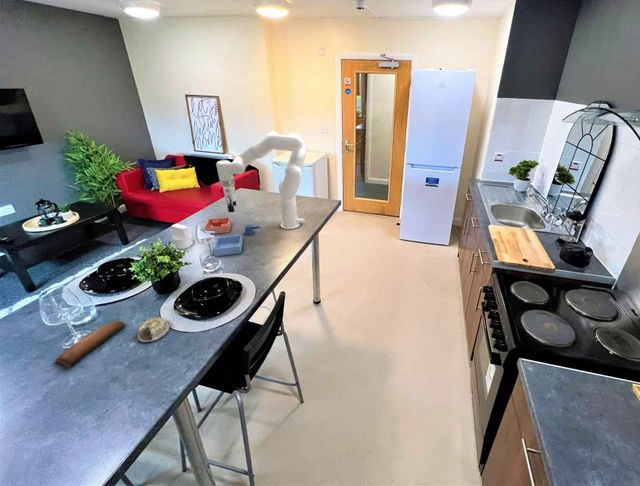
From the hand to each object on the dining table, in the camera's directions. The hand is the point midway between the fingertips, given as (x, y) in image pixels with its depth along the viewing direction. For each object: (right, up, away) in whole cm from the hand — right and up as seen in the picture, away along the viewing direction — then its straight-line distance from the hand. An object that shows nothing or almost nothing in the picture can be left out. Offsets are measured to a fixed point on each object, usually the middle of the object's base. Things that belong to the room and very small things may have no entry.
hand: (232, 208), depth 175 cm
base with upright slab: (-23, -21, -10) cm, 33 cm away
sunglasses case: (-17, -49, -72) cm, 88 cm away
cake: (+1, -47, -66) cm, 81 cm away
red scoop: (-12, -12, +9) cm, 19 cm away
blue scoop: (+11, -15, +5) cm, 19 cm away
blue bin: (+4, -23, -12) cm, 26 cm away
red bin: (-13, -13, +9) cm, 20 cm away
